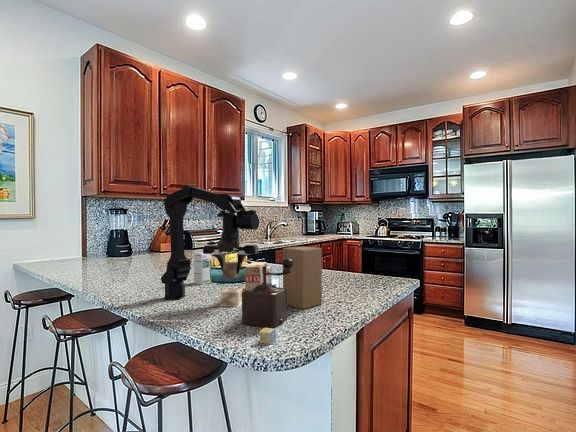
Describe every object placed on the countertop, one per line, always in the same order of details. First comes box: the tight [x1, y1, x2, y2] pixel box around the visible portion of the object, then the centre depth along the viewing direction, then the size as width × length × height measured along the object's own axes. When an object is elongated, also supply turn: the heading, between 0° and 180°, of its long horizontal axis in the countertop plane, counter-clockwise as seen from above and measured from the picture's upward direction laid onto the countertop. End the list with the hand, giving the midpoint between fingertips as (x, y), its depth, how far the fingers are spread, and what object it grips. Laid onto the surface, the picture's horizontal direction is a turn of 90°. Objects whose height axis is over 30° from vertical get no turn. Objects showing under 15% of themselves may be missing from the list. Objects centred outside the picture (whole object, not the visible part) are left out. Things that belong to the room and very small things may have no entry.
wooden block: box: [282, 245, 323, 310], centre depth 119 cm, size 10×10×20 cm
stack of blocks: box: [244, 261, 273, 292], centre depth 140 cm, size 21×6×12 cm, turn 171°
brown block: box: [222, 261, 239, 279], centre depth 119 cm, size 4×4×5 cm
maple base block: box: [220, 288, 243, 305], centre depth 120 cm, size 6×6×4 cm
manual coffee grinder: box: [241, 258, 293, 329], centre depth 102 cm, size 16×11×18 cm
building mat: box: [219, 302, 242, 307], centre depth 119 cm, size 13×15×1 cm
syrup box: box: [193, 251, 212, 286], centre depth 159 cm, size 6×6×14 cm
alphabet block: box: [259, 328, 277, 345], centre depth 84 cm, size 3×3×3 cm
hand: (231, 273), depth 120 cm, fingers closed on brown block, 5 cm apart
